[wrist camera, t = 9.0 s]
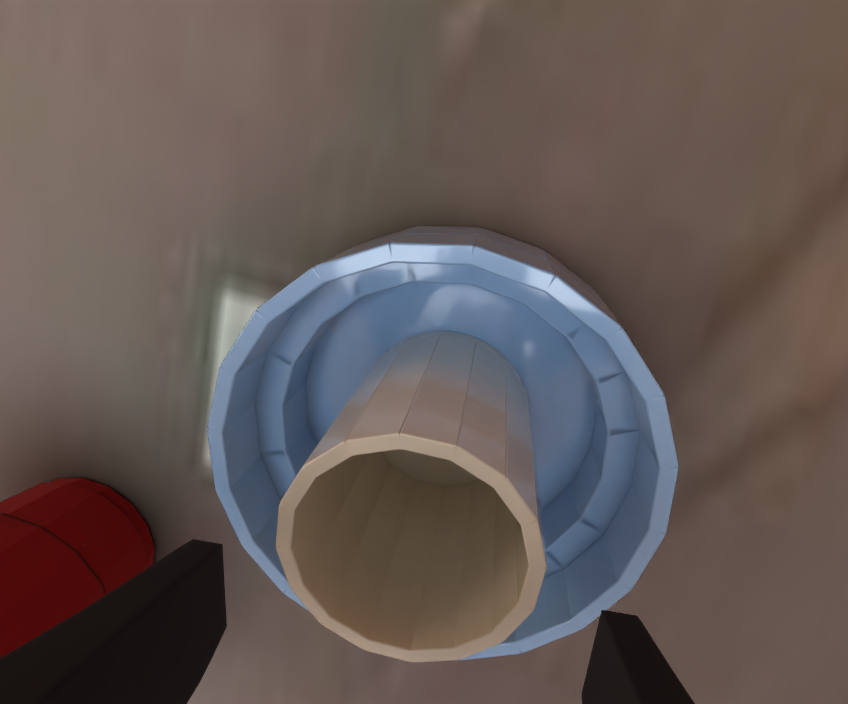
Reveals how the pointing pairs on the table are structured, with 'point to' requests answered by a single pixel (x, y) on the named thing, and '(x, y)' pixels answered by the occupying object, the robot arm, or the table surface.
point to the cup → (421, 506)
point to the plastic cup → (64, 554)
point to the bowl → (509, 334)
